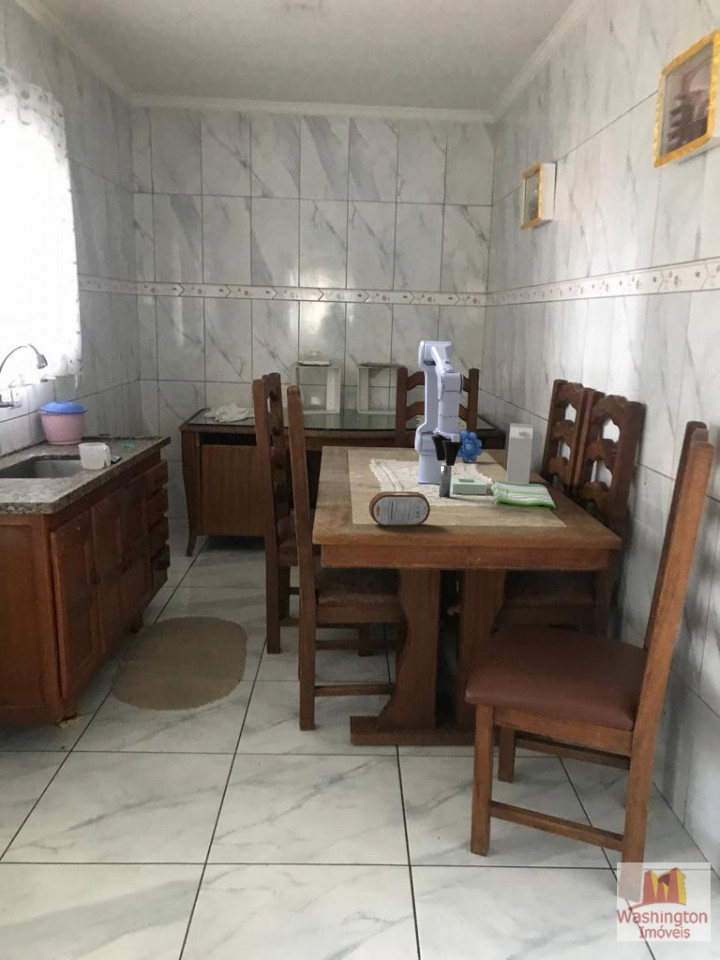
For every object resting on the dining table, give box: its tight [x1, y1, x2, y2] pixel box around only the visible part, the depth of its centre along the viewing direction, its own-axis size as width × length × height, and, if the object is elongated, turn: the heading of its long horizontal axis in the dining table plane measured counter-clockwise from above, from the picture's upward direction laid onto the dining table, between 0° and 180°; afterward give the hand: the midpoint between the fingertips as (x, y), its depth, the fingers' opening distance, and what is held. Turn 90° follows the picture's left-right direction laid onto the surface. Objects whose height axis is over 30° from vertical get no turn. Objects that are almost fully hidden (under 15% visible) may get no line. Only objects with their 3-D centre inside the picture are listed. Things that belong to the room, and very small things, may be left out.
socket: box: [450, 476, 488, 496], centre depth 220 cm, size 10×10×3 cm
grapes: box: [456, 429, 483, 463], centre depth 267 cm, size 12×7×12 cm, turn 99°
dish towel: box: [490, 479, 557, 510], centre depth 212 cm, size 17×23×4 cm
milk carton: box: [505, 422, 534, 484], centre depth 234 cm, size 7×7×19 cm
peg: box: [438, 464, 453, 498], centre depth 211 cm, size 3×3×9 cm
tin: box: [368, 490, 431, 527], centre depth 178 cm, size 15×3×8 cm, turn 99°
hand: (445, 463), depth 208 cm, fingers open, 7 cm apart
